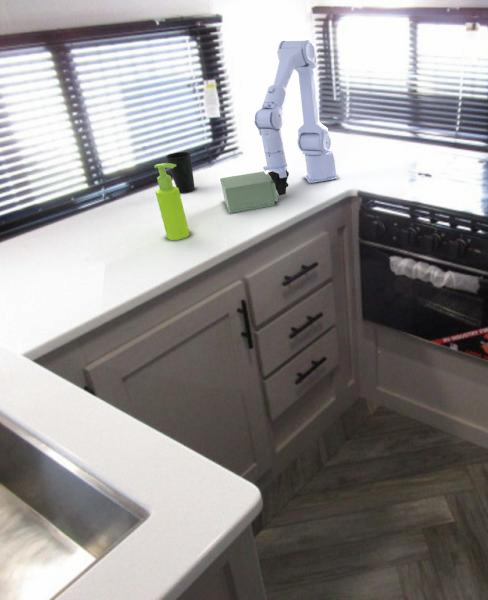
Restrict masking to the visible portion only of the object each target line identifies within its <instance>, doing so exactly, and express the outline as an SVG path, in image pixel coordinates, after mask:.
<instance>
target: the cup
mask: <svg viewBox="0 0 488 600" xmlns="http://www.w3.org/2000/svg"><path fill="white" fill-rule="evenodd" d="M191 157H192V156H191V152H188V151H179V152H173V153H170V154H167V155H166V156H165V159H166V161H167V162H166V163H171V164H175V165H176V167H174V168H169V171H170V173H171V176H172V179H173V182H174V185H175V187H178V188H179V192H180V194H187V193H192V192H194V191H195V190H196V188H195V180H194V173H193V172H194V171H193V165H192V158H191Z"/></svg>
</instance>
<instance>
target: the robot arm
mask: <svg viewBox="0 0 488 600" xmlns="http://www.w3.org/2000/svg"><path fill="white" fill-rule="evenodd" d="M276 52H277V53H276V54H277V58H278V61H279V62H278V65H277V70H276V74H275V77H274V81H273V84H272V85H270V86H269V87H268V89H267V91H266V94H265V97H264V99H263V103H262V106H261V108H259V109H258V110H257V111H256V112H255V115H254V121H253V122H254V125H255V127H256V128H257V130H258V134H259V135H260V136H261V140H262V145H263V150H264V156H265V161H266V165H265V166H263V171H269V172H267V174H268V175H269V176H270V177H271V179H272V180H273V182H274V183H275V186H276V192H277V196H279V197H280V196H285V195H286V194H287V187H286V183H288V178H289V175H290V174H289V171H288V163H287V159H286V154H285V146H284V142H283V135H282V127H283V124H284V113H285V112H284V107H285V104H286V102H287V98H288V92H287V90H286V89H287V86H288V84H289V82H290V80H291V77H292V75H293V73H294V70H295V71H296V73H298V83H299V91H300V101H301V102H300V103H301V111H302V120H303V121H302V122H303V124H302V125H301V126H300V127H299V128H298V130H297V133H298V135H297V146H298V149H299V150H300V151H301V152H302V154H303V155H304V159H305V167H306V174H307V175H304V179H306V181H307V182H308V183H309V184H315V183H320V182H326V181H332V180H337V179H338V177H337V172H336V171H337V170H336V162H335V161H336V160H335V156H334V152H333V151H332V150H330V149H331V146H332V140H331V137H330V133H329V128H328V127H327V126H325V125H324V124H323V123H322V122H321V121H320V113H319V101H318V92H317V80H316V79H317V78H316V68H317V67H318V65H317V53H316V52H317V51H316V46H315V45H314V44H313V42H312V41H311V40H309V39H306V40H281V41H280V42H279V44H278V46H277V51H276Z"/></svg>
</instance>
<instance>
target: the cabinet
mask: <svg viewBox="0 0 488 600" xmlns="http://www.w3.org/2000/svg"><path fill="white" fill-rule="evenodd" d="M219 180H220V185H221V190H222V195H223V196H222V197H223V200H224V203H225V206H226V208H227V210H228V212H229V214H233V213H240V212H244V211H249V210H250V211H251V210H257V209H261V208H268V207H272V206H275V205H276V204H275V202H274V196H273V190H272V184H271V180H270V179H269V178H268V177H267V175H266V172H265V170H263V171H258V172H257V171H256V172H252V173H244V174H239V175H232V176H227V177H220V178H219Z"/></svg>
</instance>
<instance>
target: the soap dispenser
mask: <svg viewBox="0 0 488 600" xmlns="http://www.w3.org/2000/svg"><path fill="white" fill-rule="evenodd" d="M174 167H176V165H175V164H171V163H168V162H161V163H156V164H154V165H153V168H154V169H158V170H157V171H158V173H159V175H158V176H157V177H156V179H157V183H158V184H157V185H158V189H157V190H155V196H156V200H157V203H158V208H159V212H160V216H161V219H162V222H163V226H164V231H165V233H166V234H165V235H166V237H167V240H169V241H179V240H183V239H186V238H188V237H189V236H190V230H189V226H188V221H187V217H186V213H185V209H184V205H183V201H182V196H181V193H180V192H179V188H178V187H176V186H174V185H173V180H172V177H171V176H172V175H169V174H167V171H166V168H167V169H170V168H174Z"/></svg>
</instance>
